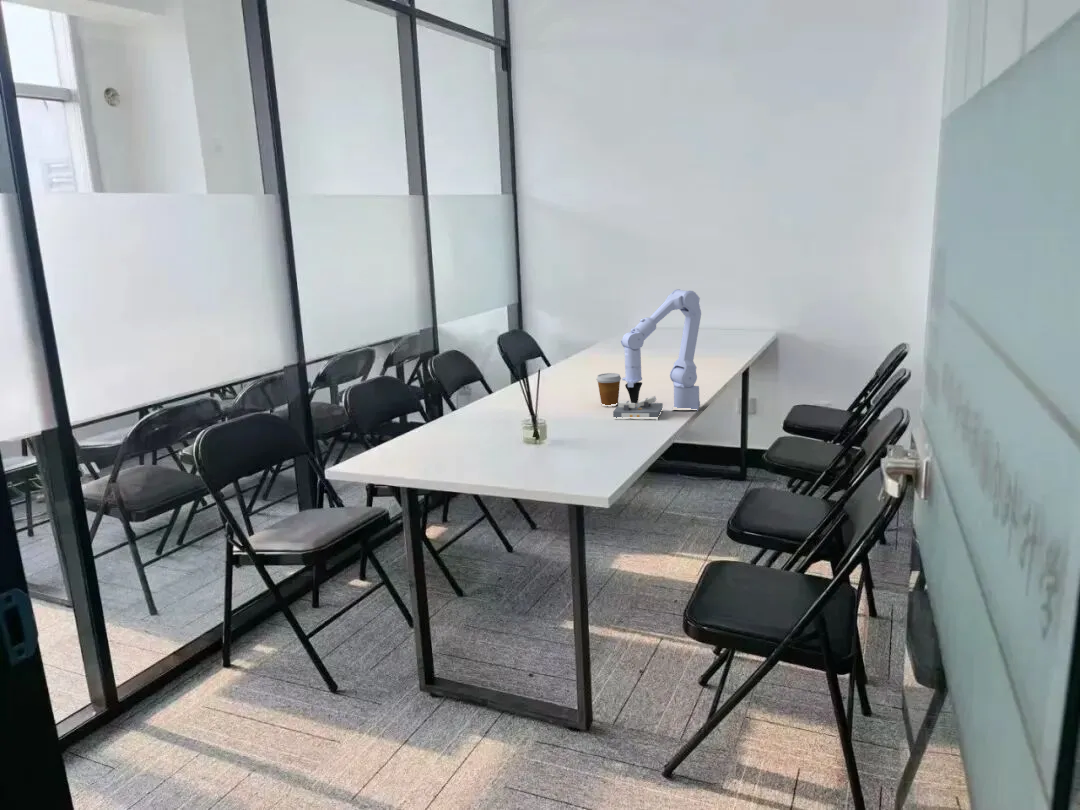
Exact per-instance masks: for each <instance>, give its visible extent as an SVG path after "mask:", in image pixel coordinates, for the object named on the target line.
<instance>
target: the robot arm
mask: <svg viewBox="0 0 1080 810" xmlns="http://www.w3.org/2000/svg"><path fill="white" fill-rule="evenodd" d="M700 300H701V297H699V295H698V294H697V292H695V291H694V290H684V289H677V288H676V289H674V290H673V291H672V292H671V293H670V294H668V295H667V297H666V299H665V300H664V302H663V303H662V304H661V305H660V306H659V307H658V308H657V309H656V310H655V311H654V312H653V313H652V314H651V315H650V317H644V318H641V319H640V320H639V322H638V323H637V324H636V325H635V326H634V327H632V328H630V331H629V332H626V333H624V335H623V336H622V338H621V340H620V343H621V346H622V347H623V350H624V370H625V373H624V374H625V377H621V380H622V381H625V385H624V386H625V389H626V391H627V392H628V395H629V401H631V403H638V402H639V396H640V391H641V388H642V385H643V377H642V358H641V348H642V347H643V346H644V342H645V340H646V339H647V338H648V337H649V336H650V335H651V334H653V333H654V332H655V330H657V324H658V323H660V322H661V321H662V320H663V319H664V318H665V317H666V316H668V315H669V314H670V313H671V312H672V311H675V310H676V311H677V310H679V311H681V313H682V314H683V315H684V325H683V328H682V335H681V341H680V346H679V352H678V358H677V359H676V360H675V361H674V363H673V367H672V369H671V370H670V372H669V378H670V380H671V382H672V384H673V407H677V408H691V409H697V411H696V412H699V410H698V409H700V407H699V406H700V405H701V401H700V386H699V385H695V384H696V382H697V380H698V374H697V366H696V363H695V362H694V359H695V351H696V347H697V341H698V335H699V329H700V324H701V318H702V317H701V316H702V310H701V306H700ZM641 381H642V382H641Z"/></svg>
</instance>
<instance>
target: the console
mask: <svg viewBox="0 0 1080 810" xmlns="http://www.w3.org/2000/svg"><path fill="white" fill-rule="evenodd" d="M663 405H664V404H663V402H653V403H650V404H649V402H644V406H640V407H639V404H638V402H637V405H636V407H635V408H629V405H624V407H618V406H616V407H615V409H613V411H612V412H613V413H612V415H613V416H612V417H616V418H617V417H622V418H623V417H658V416H659V414H660V412H661V410H662V408H663ZM663 409H664V408H663Z"/></svg>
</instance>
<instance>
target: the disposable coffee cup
mask: <svg viewBox="0 0 1080 810" xmlns="http://www.w3.org/2000/svg"><path fill="white" fill-rule="evenodd" d="M621 380H622V377H621V375H620V374H619V373H615V372H607V373H601V374H598V375H597V377H596V381H597V385H598V392H599V398H600V403H602V404H605V405H611V404H616V403H619V396H620V386H621ZM602 404H601V405H602Z"/></svg>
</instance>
